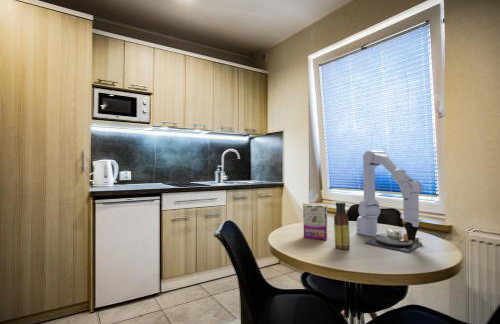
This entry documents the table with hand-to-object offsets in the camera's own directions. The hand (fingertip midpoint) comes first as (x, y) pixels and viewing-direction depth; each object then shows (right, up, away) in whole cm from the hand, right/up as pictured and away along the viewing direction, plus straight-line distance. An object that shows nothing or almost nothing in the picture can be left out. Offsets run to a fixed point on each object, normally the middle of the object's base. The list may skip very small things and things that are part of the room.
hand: (411, 240), depth 116 cm
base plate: (-4, -4, +7) cm, 9 cm away
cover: (-3, -1, +8) cm, 8 cm away
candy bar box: (-37, -4, +18) cm, 41 cm away
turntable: (-4, -3, +7) cm, 9 cm away
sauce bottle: (-30, -4, +2) cm, 30 cm away
